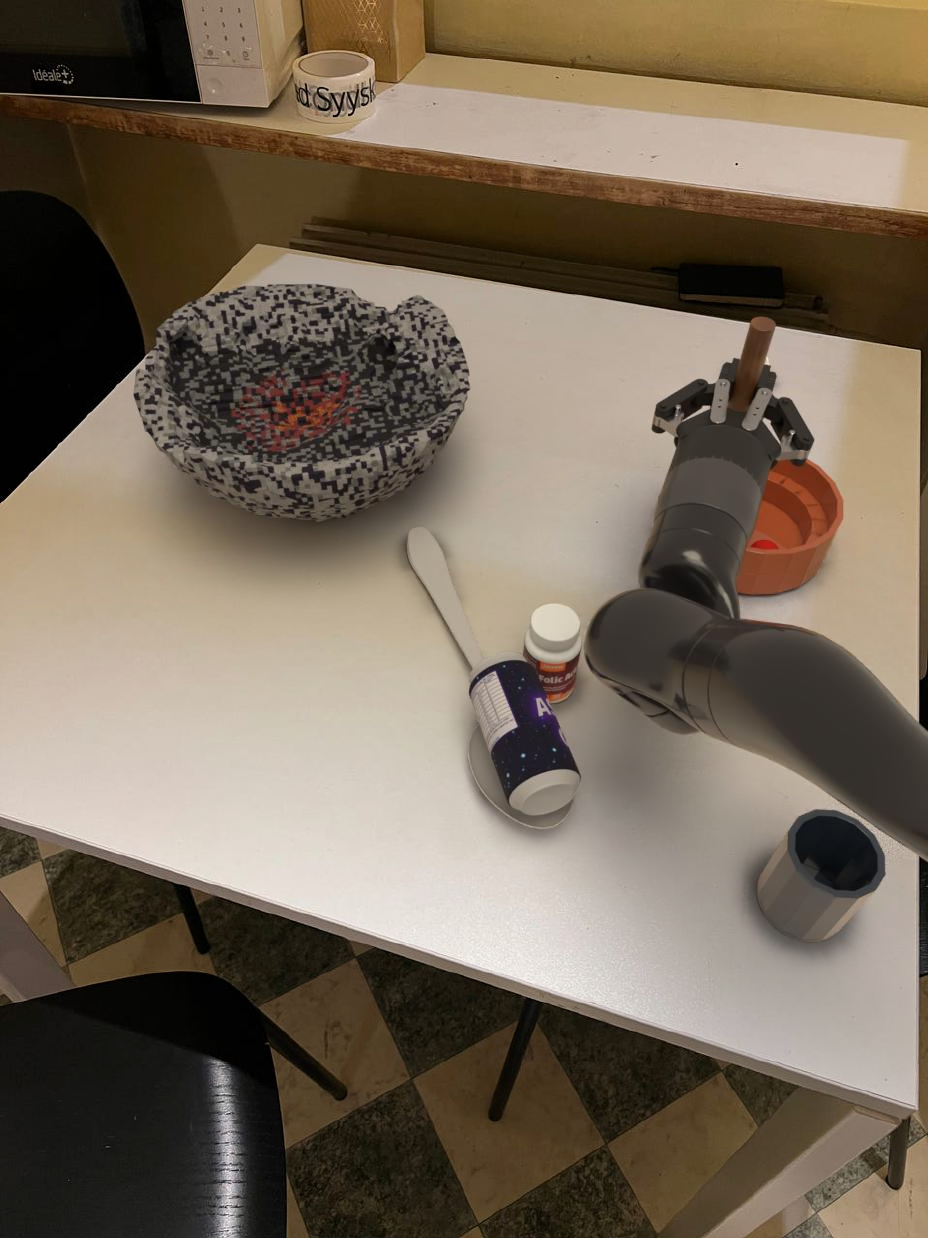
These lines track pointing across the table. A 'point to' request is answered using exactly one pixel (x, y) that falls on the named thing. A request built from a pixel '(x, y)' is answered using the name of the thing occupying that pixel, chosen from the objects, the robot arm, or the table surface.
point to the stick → (751, 363)
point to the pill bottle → (554, 648)
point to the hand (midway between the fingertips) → (749, 370)
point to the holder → (820, 875)
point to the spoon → (439, 585)
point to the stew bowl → (792, 529)
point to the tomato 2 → (764, 544)
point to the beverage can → (522, 734)
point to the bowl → (302, 396)
